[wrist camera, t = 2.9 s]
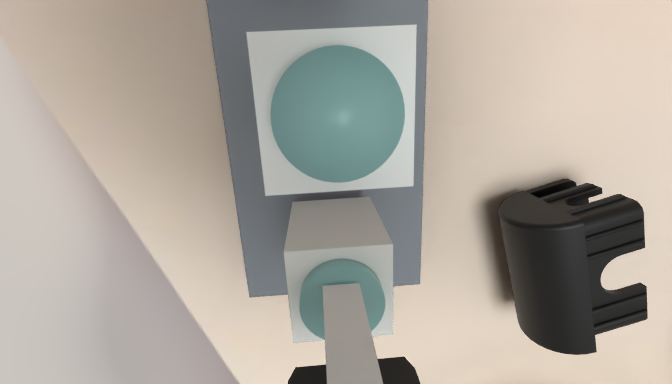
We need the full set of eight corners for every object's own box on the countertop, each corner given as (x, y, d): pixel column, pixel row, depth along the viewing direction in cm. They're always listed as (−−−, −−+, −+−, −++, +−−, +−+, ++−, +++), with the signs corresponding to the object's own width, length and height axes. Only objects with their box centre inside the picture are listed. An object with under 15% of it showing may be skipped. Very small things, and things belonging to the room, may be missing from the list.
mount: (199, -143, 19) (123, -295, 11) (415, -147, 19) (481, -295, 12) (256, 274, 27) (233, 350, 19) (408, 263, 27) (445, 332, 20)
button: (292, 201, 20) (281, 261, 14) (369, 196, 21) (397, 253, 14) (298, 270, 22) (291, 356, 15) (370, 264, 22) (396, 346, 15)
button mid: (273, 52, 15) (240, 27, 8) (375, 47, 15) (425, 19, 9) (282, 154, 17) (261, 204, 10) (377, 149, 17) (420, 194, 10)
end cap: (477, 199, 26) (531, 237, 20) (569, 170, 26) (653, 199, 19) (499, 305, 29) (551, 367, 23) (580, 280, 29) (657, 336, 23)
